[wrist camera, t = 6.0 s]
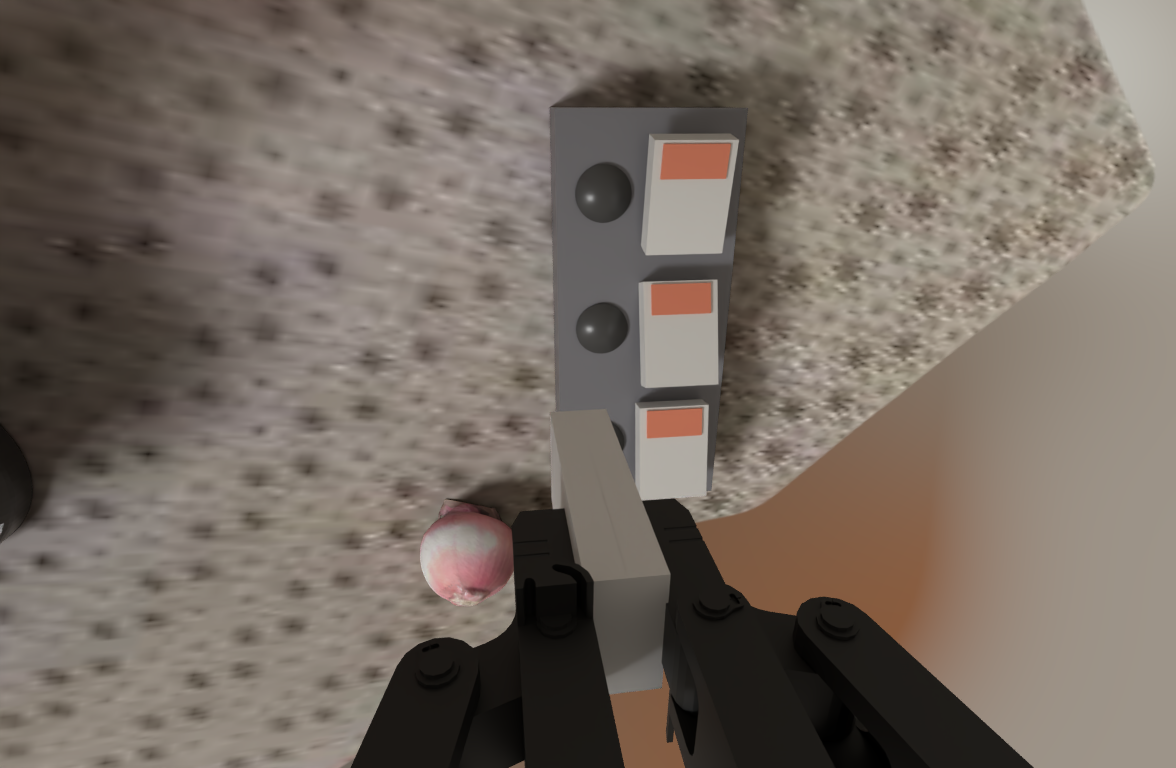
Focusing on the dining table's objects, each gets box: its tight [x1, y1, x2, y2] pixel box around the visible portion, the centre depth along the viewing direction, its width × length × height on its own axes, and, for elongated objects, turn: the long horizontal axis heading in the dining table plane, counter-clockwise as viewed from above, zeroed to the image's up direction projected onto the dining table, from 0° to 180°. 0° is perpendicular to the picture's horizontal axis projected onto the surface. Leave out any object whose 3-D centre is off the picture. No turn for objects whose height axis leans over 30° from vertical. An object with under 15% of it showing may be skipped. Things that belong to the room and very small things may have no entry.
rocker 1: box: [641, 134, 739, 255], centre depth 39 cm, size 5×7×2 cm
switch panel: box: [550, 107, 748, 491], centre depth 46 cm, size 12×28×4 cm, turn 0°
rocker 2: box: [639, 280, 718, 388], centre depth 43 cm, size 5×7×2 cm
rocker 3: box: [635, 399, 709, 500], centre depth 46 cm, size 5×7×2 cm
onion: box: [420, 499, 514, 606], centre depth 51 cm, size 8×8×7 cm
